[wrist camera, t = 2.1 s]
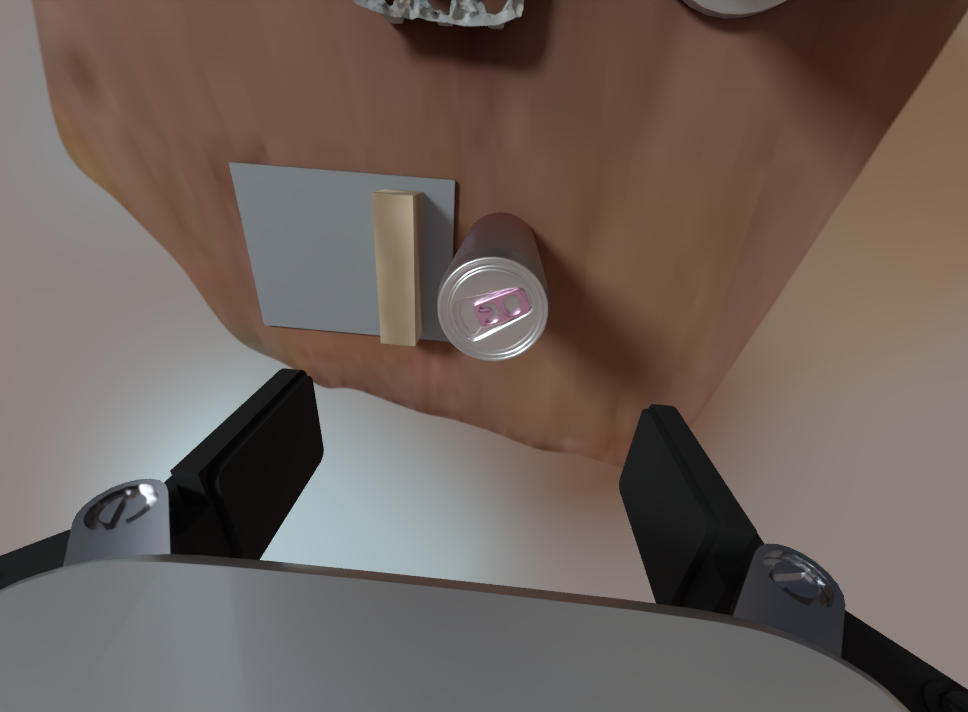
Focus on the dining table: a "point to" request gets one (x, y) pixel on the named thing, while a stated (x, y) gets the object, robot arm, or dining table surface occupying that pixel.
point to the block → (399, 264)
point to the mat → (333, 244)
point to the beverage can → (495, 291)
